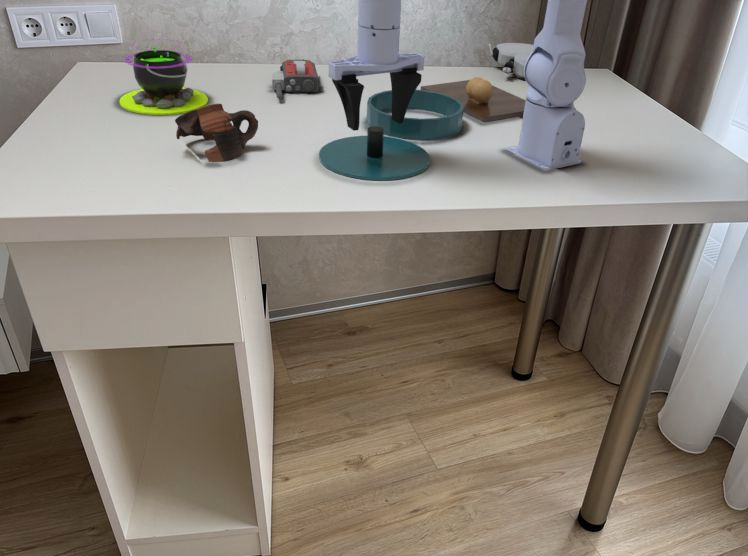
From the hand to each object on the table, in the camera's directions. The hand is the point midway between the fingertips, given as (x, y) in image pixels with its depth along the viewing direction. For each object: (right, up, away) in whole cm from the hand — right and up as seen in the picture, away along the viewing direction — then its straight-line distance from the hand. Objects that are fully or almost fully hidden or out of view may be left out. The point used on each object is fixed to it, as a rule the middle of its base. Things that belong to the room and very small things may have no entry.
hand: (375, 124), depth 102 cm
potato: (+18, +13, +27) cm, 35 cm away
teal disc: (0, -4, +3) cm, 5 cm away
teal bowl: (+6, +5, +17) cm, 19 cm away
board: (+19, +14, +30) cm, 38 cm away
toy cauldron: (-38, +11, +21) cm, 45 cm away
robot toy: (+30, +27, +50) cm, 64 cm away
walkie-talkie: (-17, +17, +31) cm, 39 cm away
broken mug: (-24, -3, +3) cm, 24 cm away
